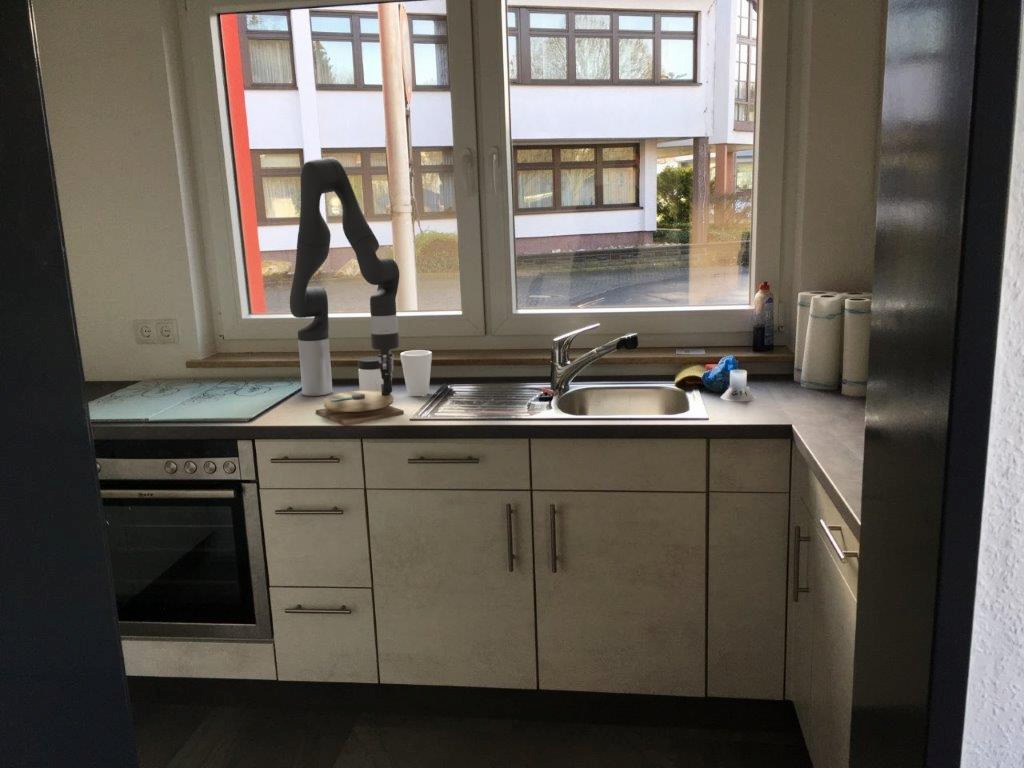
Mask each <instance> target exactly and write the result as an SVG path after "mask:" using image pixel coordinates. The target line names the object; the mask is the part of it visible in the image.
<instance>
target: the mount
mask: <svg viewBox="0 0 1024 768" xmlns="http://www.w3.org/2000/svg"><path fill="white" fill-rule="evenodd" d="M404 411H405V410H403V409H400V408H398V407H395V406H392V405H389V406H386V407H383V408H379V409H374V410H368V411H356V412H343V411H334V410H329V409H327V408H325V407H324V408H319V409H315V414H317V415H319V416H321V417H323V418H326V419H329V420H331V421H333V422H336V423H339V424H341V425H343V426H350V425H355V423H356V424H360V423H365V421H366V422H370V420H371V421H376V420H380V419H385V418H390V417H395V416H400V415H403V414H405V412H404ZM375 419H376V420H375Z"/></svg>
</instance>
